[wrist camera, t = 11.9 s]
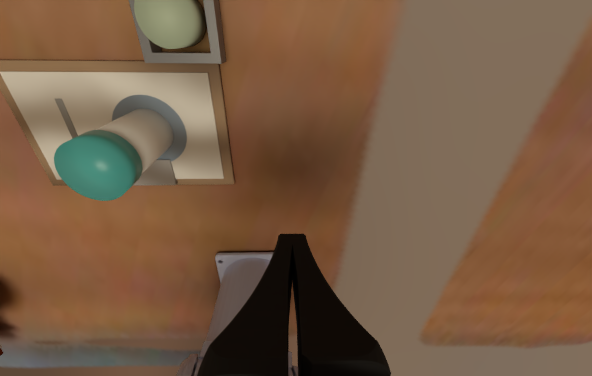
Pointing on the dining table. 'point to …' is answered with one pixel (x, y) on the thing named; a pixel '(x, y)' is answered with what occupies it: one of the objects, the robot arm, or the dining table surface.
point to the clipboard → (124, 111)
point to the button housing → (216, 55)
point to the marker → (113, 154)
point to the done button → (171, 22)
